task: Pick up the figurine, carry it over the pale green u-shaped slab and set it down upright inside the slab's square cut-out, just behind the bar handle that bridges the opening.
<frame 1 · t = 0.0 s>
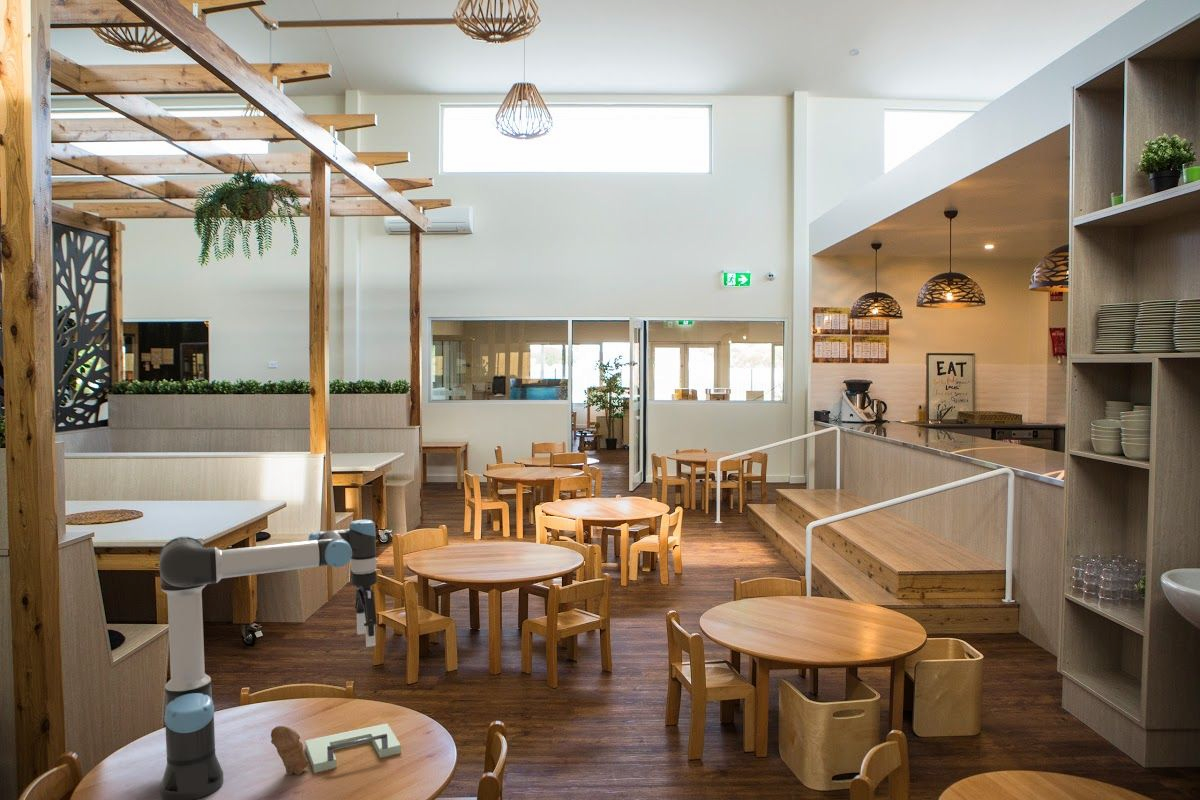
hand: (366, 639, 257), 28 cm above the table, fingers open, 13 cm apart
pale green u-shaped slab: (352, 750, 244), on the table
bar handle: (358, 762, 237), resting on pale green u-shaped slab
figurine: (290, 774, 230), on the table
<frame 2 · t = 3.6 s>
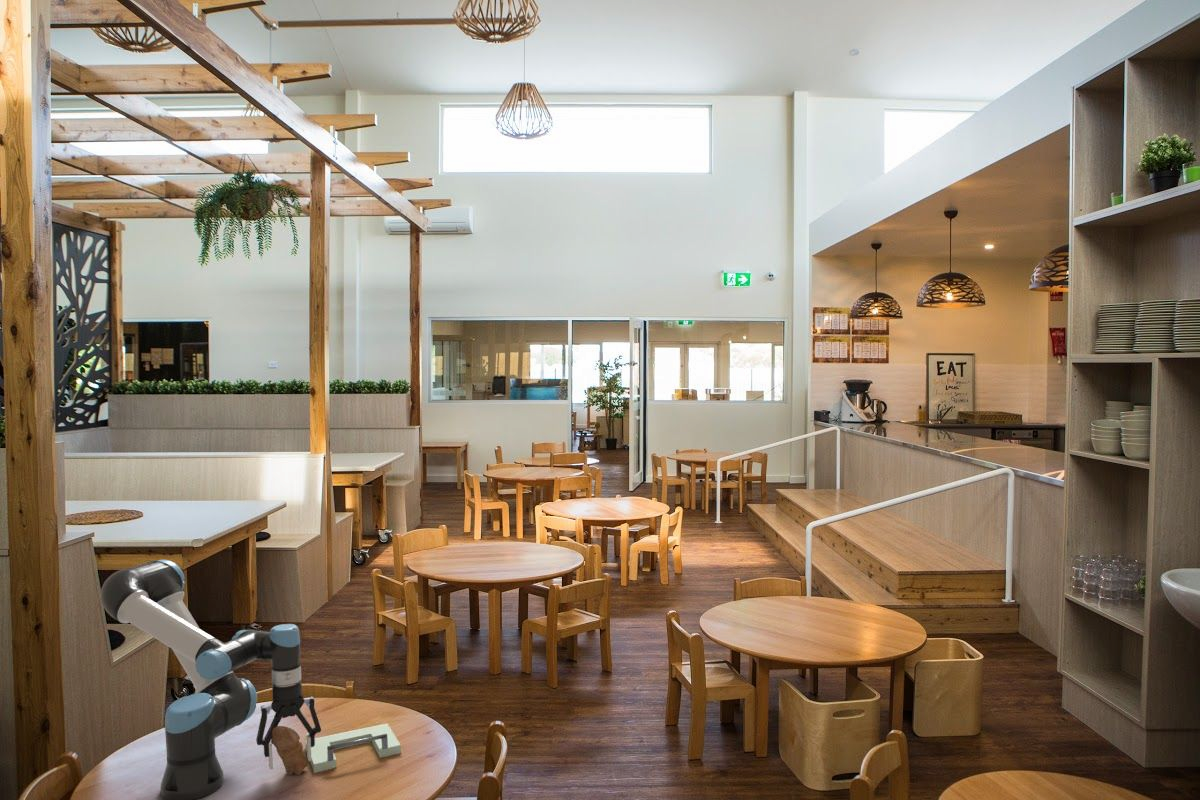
hand: (290, 762, 230), 3 cm above the table, fingers closed on figurine, 9 cm apart
figurine: (289, 775, 230), on the table, touching gripper
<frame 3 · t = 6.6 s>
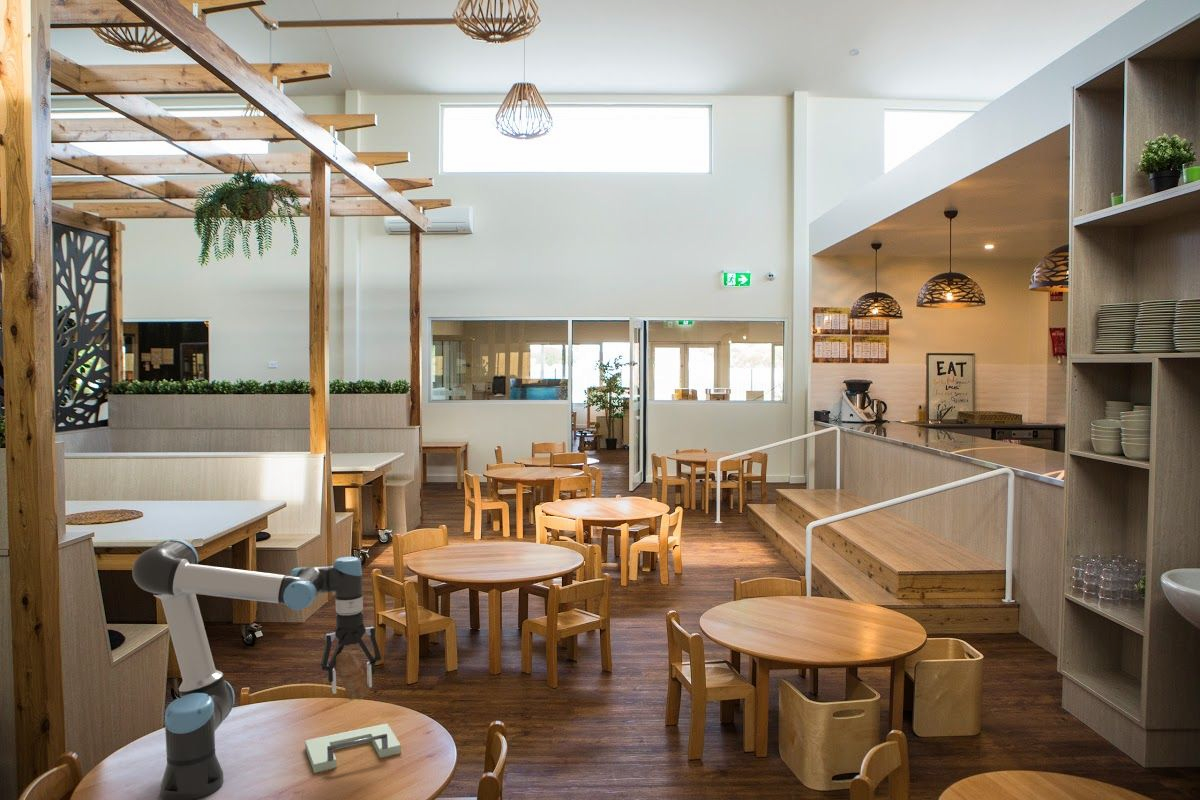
hand: (352, 688, 241), 19 cm above the table, fingers closed on figurine, 9 cm apart
figurine: (351, 700, 241), point 16 cm above the table, touching gripper
when the fingers open (5 cm above the table, at t = 9.5 s): figurine drops 2 cm, resting in pale green u-shaped slab.
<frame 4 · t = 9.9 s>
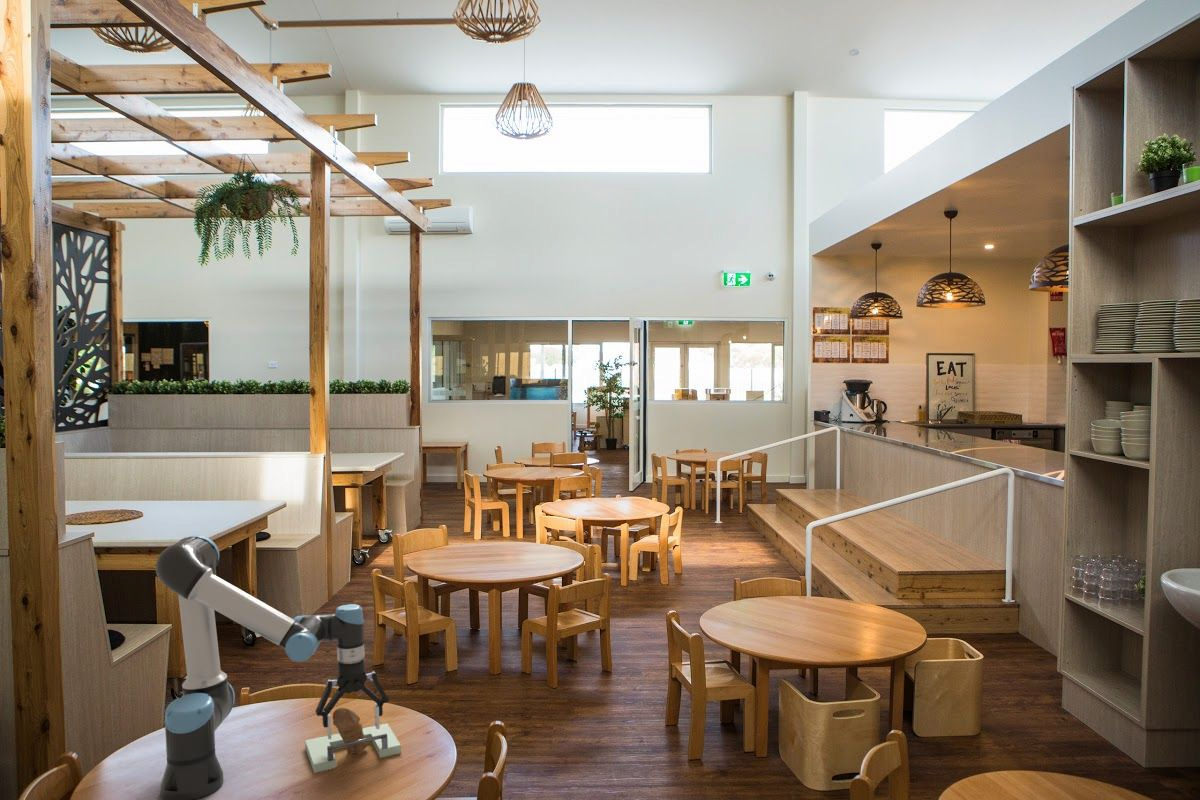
hand: (353, 732, 242), 6 cm above the table, fingers open, 13 cm apart
figurine: (350, 754, 242), resting in pale green u-shaped slab
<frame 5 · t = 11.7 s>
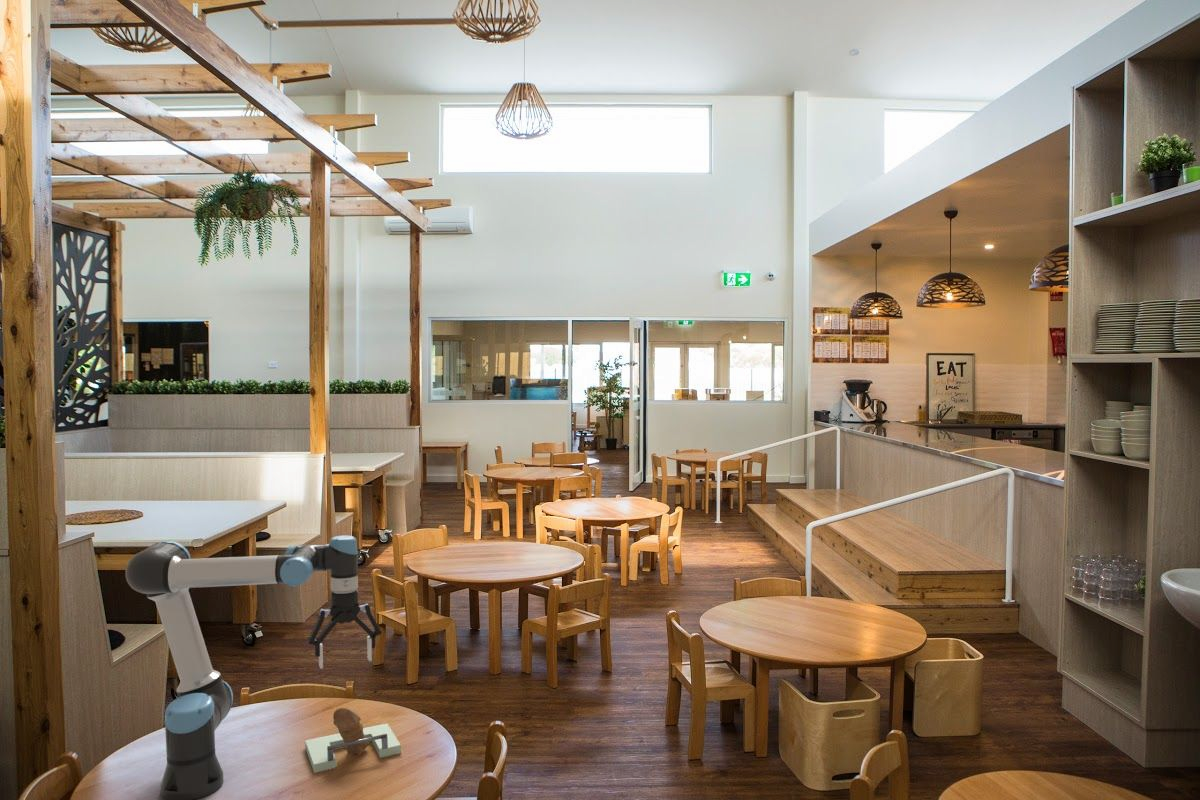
hand: (345, 663, 242), 26 cm above the table, fingers open, 13 cm apart
nothing on the table moved.
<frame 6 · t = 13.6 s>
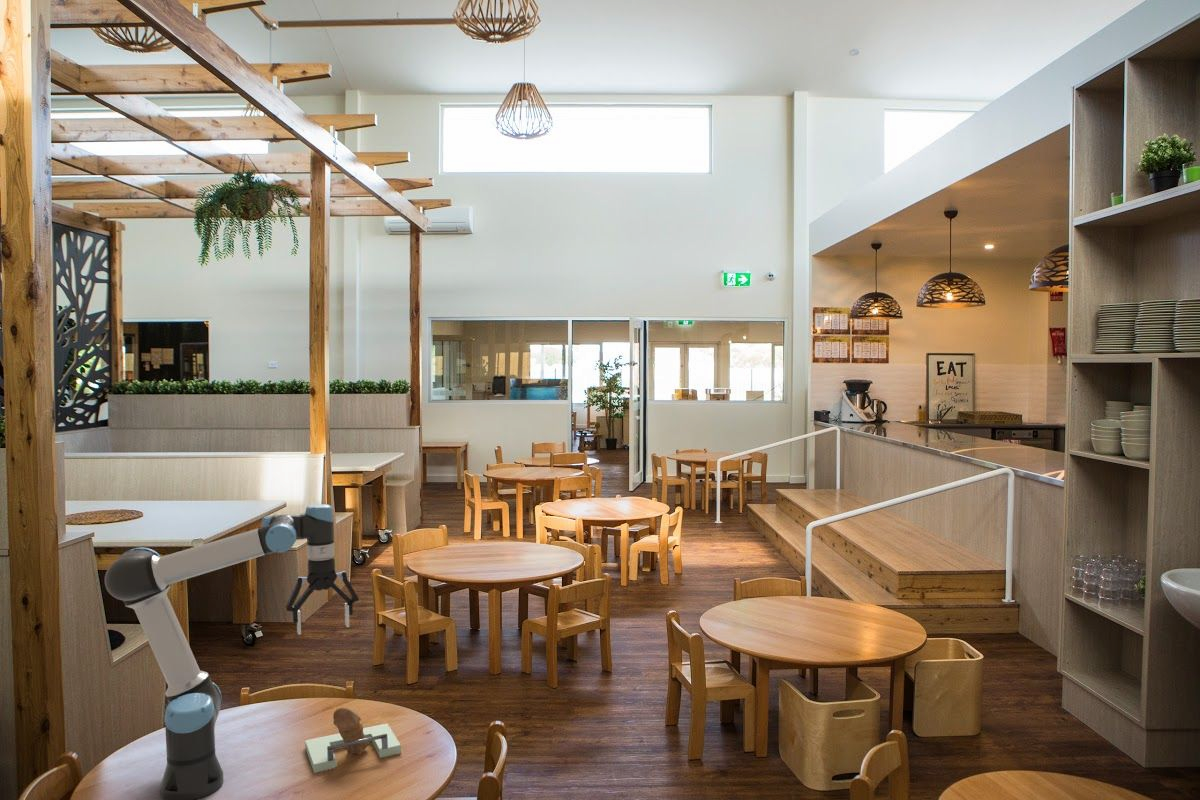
hand: (323, 629, 246), 35 cm above the table, fingers open, 13 cm apart
nothing on the table moved.
at the end: figurine inside the target area (0.9 cm from its centre), resting in pale green u-shaped slab; figurine tilted 0°; the gripper is holding nothing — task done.
